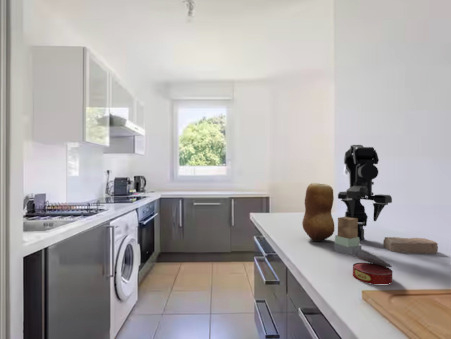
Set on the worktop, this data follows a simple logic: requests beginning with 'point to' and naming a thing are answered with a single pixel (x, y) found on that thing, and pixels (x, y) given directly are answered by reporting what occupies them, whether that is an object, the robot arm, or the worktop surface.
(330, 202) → the butternut squash
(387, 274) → the canned food
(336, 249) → the base block
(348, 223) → the tan rectangular prism
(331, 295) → the worktop surface
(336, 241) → the top block
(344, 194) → the robot arm
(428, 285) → the worktop surface
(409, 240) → the brick
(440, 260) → the worktop surface
